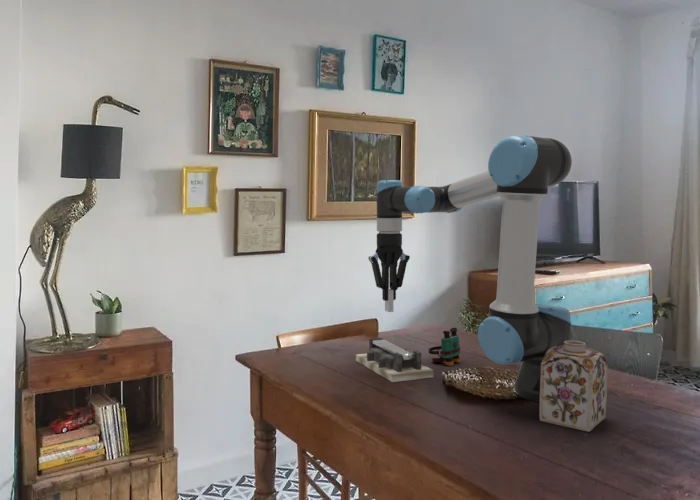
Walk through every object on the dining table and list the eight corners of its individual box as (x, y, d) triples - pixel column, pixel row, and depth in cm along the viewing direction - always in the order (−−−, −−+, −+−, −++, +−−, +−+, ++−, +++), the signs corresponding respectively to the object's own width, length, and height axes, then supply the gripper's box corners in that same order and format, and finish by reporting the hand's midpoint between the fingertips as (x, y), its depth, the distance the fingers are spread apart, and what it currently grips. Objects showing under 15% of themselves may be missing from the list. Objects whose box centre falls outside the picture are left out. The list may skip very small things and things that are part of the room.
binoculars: (435, 326, 202) (463, 327, 196) (438, 359, 202) (466, 361, 196) (421, 331, 195) (449, 331, 189) (423, 365, 195) (452, 367, 189)
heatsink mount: (433, 377, 179) (433, 353, 178) (392, 382, 174) (392, 357, 173) (393, 356, 202) (393, 335, 201) (355, 360, 197) (356, 339, 196)
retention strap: (415, 359, 179) (415, 353, 179) (402, 361, 177) (402, 355, 177) (384, 343, 197) (384, 337, 197) (372, 344, 196) (372, 339, 196)
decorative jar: (537, 421, 143) (539, 343, 142) (556, 408, 152) (558, 334, 151) (591, 433, 136) (594, 350, 135) (607, 418, 145) (610, 341, 144)
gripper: (402, 231, 194) (402, 307, 196) (364, 232, 189) (364, 310, 191) (414, 232, 187) (414, 311, 189) (374, 233, 182) (374, 314, 184)
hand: (389, 311), depth 190 cm, fingers closed
